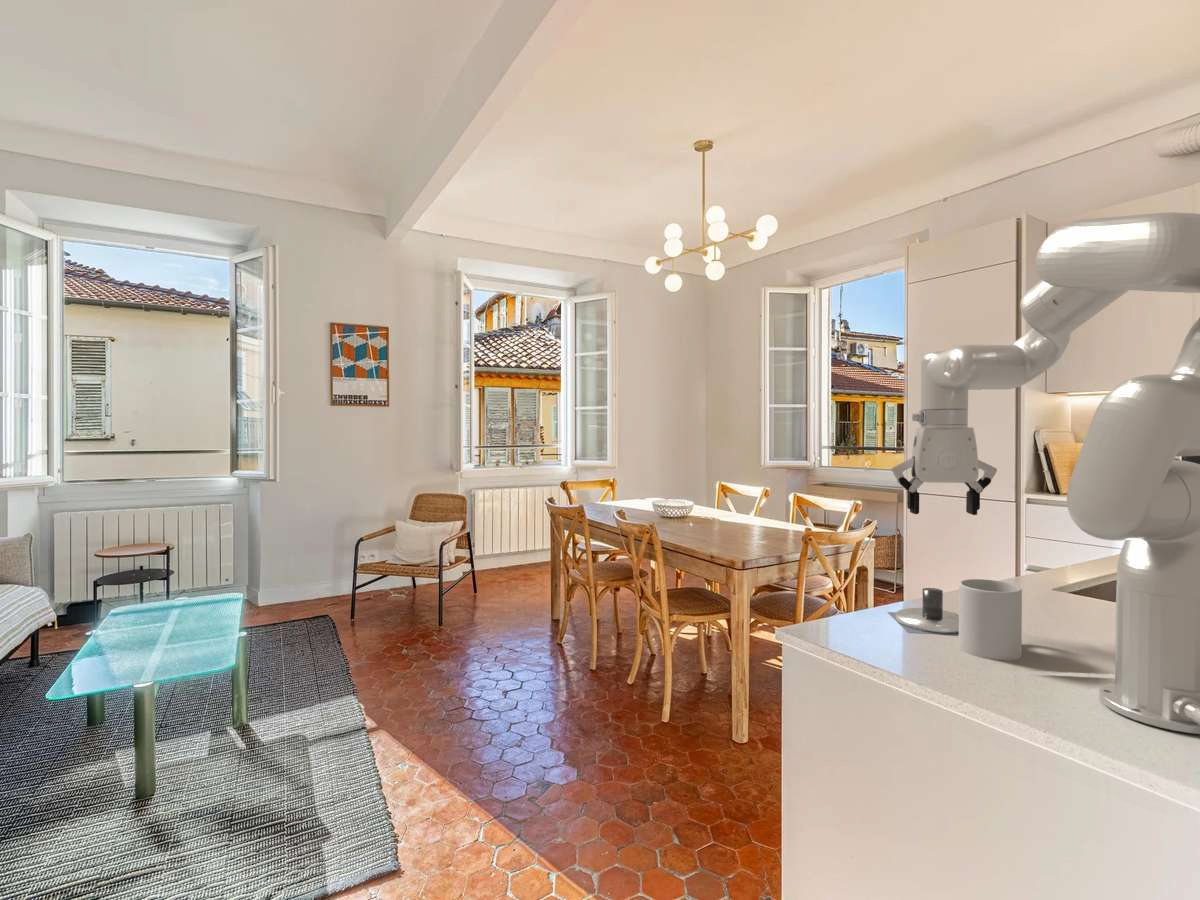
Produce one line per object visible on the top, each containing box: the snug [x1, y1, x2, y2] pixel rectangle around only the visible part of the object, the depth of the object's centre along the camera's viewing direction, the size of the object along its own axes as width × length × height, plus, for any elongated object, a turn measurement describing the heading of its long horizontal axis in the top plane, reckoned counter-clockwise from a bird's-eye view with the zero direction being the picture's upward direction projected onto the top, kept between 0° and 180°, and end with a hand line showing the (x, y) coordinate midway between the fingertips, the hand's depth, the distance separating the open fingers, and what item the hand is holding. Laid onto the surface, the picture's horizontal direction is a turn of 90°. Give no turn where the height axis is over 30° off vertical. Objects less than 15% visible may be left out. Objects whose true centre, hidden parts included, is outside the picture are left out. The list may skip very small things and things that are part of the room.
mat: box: [887, 611, 959, 636], centre depth 112 cm, size 12×12×1 cm
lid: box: [895, 587, 959, 635], centre depth 112 cm, size 12×12×6 cm
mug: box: [957, 578, 1023, 661], centre depth 99 cm, size 12×8×11 cm
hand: (942, 513), depth 113 cm, fingers open, 9 cm apart
